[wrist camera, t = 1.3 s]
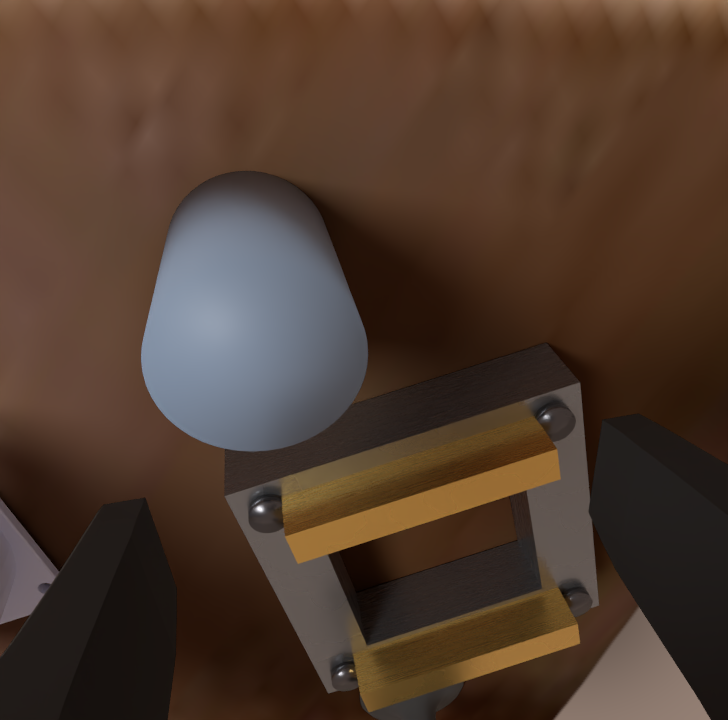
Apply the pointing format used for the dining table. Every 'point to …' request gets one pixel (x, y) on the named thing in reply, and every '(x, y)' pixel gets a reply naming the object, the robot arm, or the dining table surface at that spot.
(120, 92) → the dining table surface
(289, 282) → the blue-grey rounded cylinder
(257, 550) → the grey square frame
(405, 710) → the sundae
